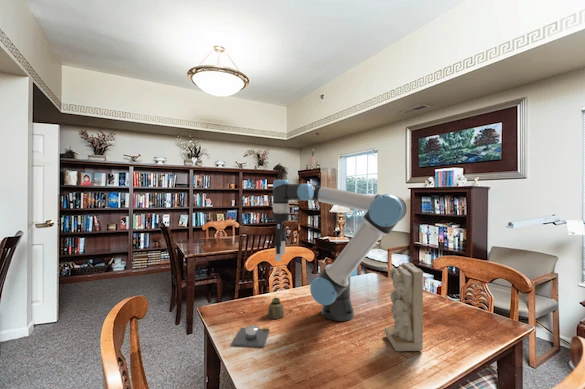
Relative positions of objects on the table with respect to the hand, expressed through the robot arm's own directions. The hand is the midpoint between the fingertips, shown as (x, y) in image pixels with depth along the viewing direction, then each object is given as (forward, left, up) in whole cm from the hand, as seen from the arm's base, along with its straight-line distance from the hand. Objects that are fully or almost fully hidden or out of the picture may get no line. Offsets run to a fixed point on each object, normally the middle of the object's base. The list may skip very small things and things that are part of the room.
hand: (280, 257), depth 131 cm
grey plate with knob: (+8, +23, -27) cm, 36 cm away
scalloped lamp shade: (+2, +3, -18) cm, 19 cm away
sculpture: (-50, +21, -27) cm, 61 cm away
